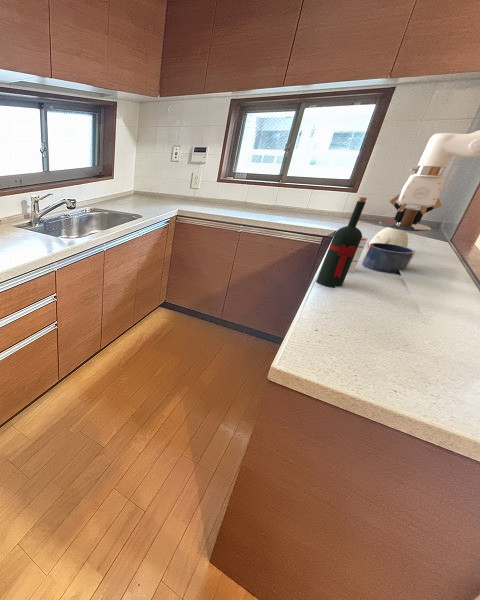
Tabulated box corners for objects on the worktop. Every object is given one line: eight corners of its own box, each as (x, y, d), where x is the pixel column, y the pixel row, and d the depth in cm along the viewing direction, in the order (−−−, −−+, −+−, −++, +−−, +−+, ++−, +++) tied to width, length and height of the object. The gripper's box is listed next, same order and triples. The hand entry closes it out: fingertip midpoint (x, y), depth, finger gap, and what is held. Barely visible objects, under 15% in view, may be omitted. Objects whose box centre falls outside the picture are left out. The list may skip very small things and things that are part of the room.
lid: (424, 227, 126) (434, 208, 123) (433, 235, 115) (444, 214, 112) (376, 221, 134) (384, 203, 130) (380, 228, 123) (388, 209, 119)
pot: (400, 265, 136) (410, 245, 133) (408, 278, 122) (419, 257, 119) (360, 258, 143) (368, 239, 140) (363, 270, 129) (372, 250, 126)
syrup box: (353, 273, 126) (369, 237, 119) (337, 272, 127) (351, 236, 120) (345, 268, 131) (360, 233, 125) (329, 267, 132) (343, 232, 125)
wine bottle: (318, 287, 113) (352, 199, 100) (314, 277, 121) (345, 194, 108) (346, 292, 110) (385, 201, 97) (339, 281, 118) (374, 197, 105)
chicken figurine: (389, 255, 148) (404, 222, 141) (360, 246, 160) (373, 216, 153) (412, 254, 150) (429, 222, 144) (382, 245, 162) (396, 215, 156)
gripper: (399, 170, 117) (377, 221, 125) (466, 174, 108) (438, 228, 116) (396, 169, 122) (375, 218, 131) (459, 173, 114) (433, 224, 122)
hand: (405, 222), depth 123 cm, fingers closed on lid, 4 cm apart
